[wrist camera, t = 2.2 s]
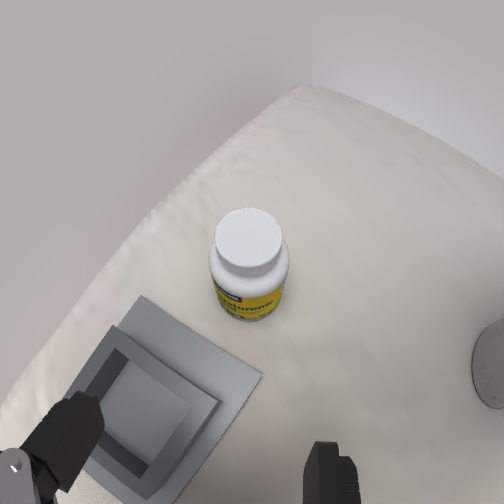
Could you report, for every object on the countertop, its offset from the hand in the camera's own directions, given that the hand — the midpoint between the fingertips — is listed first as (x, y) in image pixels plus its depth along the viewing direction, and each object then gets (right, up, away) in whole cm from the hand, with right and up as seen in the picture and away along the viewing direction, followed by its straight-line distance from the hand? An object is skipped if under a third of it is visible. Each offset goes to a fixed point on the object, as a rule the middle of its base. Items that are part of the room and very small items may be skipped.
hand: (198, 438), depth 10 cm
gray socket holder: (-7, -6, +12) cm, 16 cm away
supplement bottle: (+2, +3, +18) cm, 18 cm away
